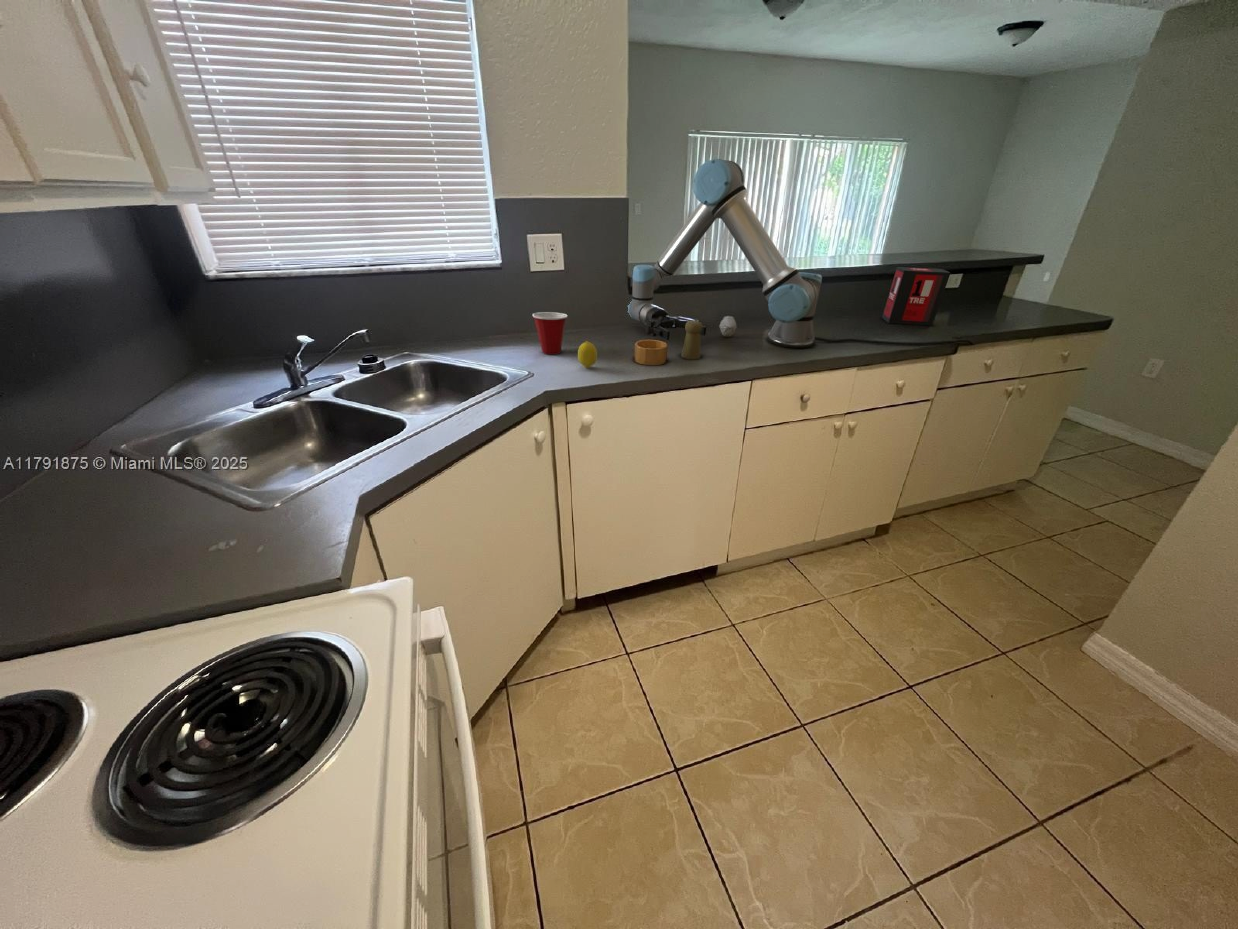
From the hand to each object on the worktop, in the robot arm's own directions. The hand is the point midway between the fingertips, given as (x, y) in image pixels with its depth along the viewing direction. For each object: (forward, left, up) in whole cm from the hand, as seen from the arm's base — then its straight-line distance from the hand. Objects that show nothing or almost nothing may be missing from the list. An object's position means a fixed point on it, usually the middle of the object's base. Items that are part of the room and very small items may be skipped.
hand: (687, 333), depth 154 cm
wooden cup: (+10, +10, -6) cm, 15 cm away
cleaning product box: (-85, -65, -7) cm, 107 cm away
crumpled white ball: (-13, -23, -7) cm, 28 cm away
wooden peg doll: (-2, +3, -7) cm, 7 cm away
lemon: (+27, +22, -7) cm, 35 cm away
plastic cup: (+42, +10, -7) cm, 44 cm away
